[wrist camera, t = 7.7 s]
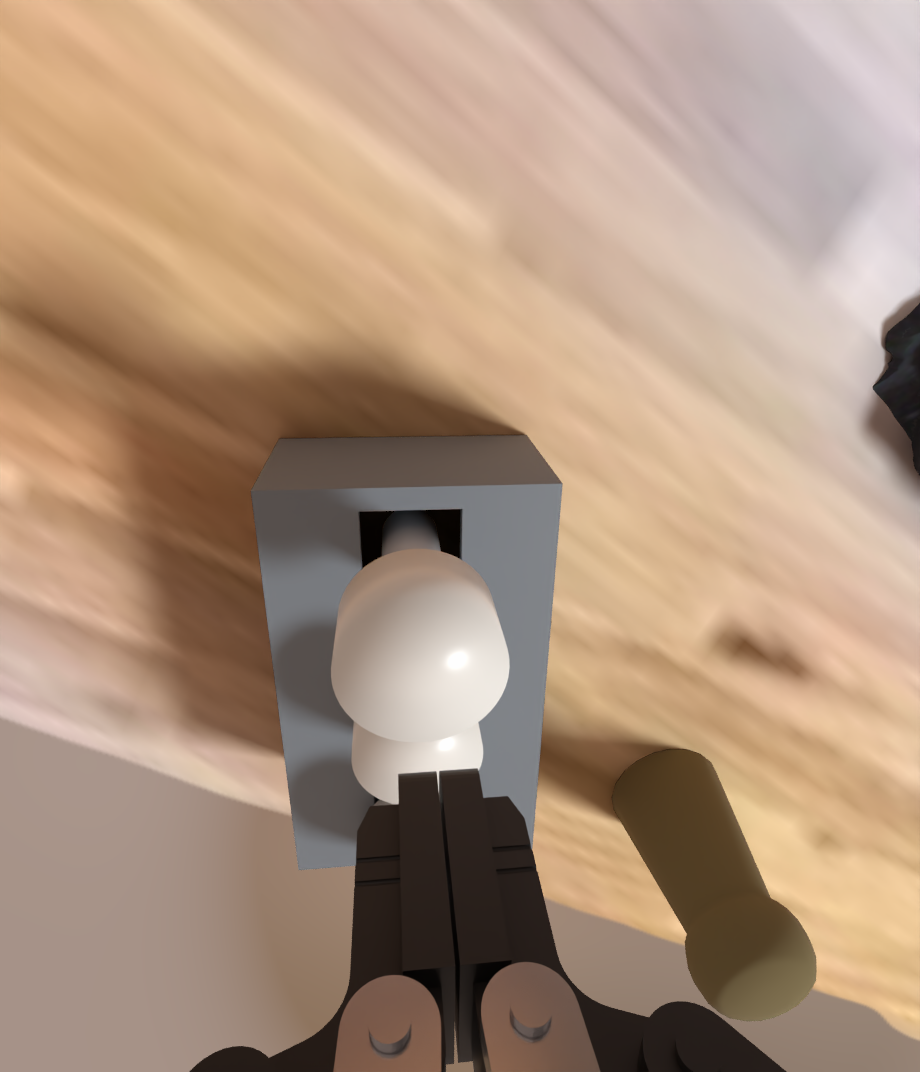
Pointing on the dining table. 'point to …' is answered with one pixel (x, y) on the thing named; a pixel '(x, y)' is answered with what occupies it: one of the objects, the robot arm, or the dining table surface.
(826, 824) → the dining table surface
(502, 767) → the mount block
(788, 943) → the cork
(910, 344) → the dark slate chunk
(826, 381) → the dining table surface
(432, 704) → the knob near
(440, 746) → the knob middle
